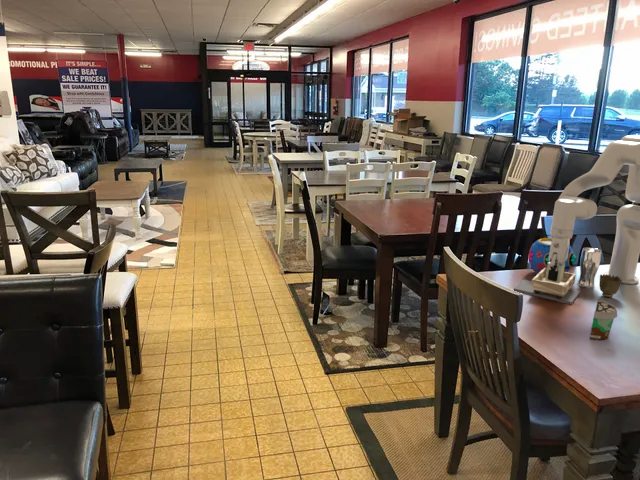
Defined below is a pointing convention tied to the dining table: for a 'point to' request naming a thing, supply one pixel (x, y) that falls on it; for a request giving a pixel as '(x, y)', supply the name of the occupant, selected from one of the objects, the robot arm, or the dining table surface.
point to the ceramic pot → (546, 255)
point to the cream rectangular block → (560, 272)
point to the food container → (602, 320)
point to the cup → (609, 285)
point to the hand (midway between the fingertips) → (554, 277)
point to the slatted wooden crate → (552, 284)
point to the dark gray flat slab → (526, 288)
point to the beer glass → (589, 266)
